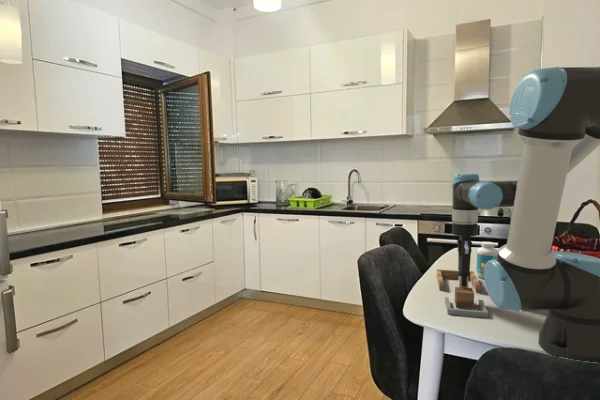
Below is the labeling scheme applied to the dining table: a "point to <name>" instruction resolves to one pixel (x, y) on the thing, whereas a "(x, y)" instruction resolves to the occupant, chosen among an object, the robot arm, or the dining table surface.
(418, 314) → the dining table surface
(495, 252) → the pill bottle
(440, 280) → the brown u-shaped frame
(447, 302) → the grey u-shaped bracket
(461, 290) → the cube
